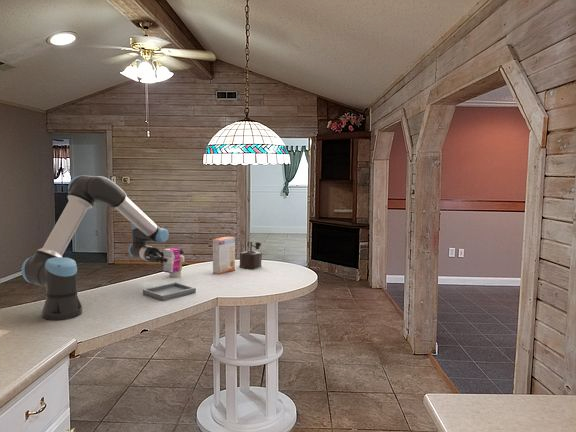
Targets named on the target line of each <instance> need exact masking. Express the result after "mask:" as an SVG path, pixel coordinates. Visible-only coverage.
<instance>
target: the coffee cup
mask: <svg viewBox="0 0 576 432" xmlns="http://www.w3.org/2000/svg"><path fill="white" fill-rule="evenodd" d="M179 249H180V256H184V254H185V253H184V250H183V249H181V248H179ZM182 270H183V262H180V269H179V272H174V273H169V277H171V278H179V277H181V275H182Z"/></svg>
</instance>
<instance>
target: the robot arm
mask: <svg viewBox="0 0 576 432" xmlns="http://www.w3.org/2000/svg"><path fill="white" fill-rule="evenodd" d="M67 193H68V195H67V200H68V202H67V203H66V205H65V207H64V209H63V211H62V213H61V214H60V216H59V217H58V220H57V221H56V223H55V225H54V226H53V228H52V230H51V232H50V234H49V235H48V237H47V239H46V241H45V242H44V245H43V246H42V247H41V248H38V249H37V250H36V251H35V253H34V254H33V255H32V256H29V257H28V258H26V259H25V260H24V262H23V263H22V265H21V275H22V277H23V279H24V280H25V281H26V282H27V283H30V284H31V285H33V286H40V287H44V288H45V291H46V292H45V293H46V298H45V301H44V304H43V307H42V310H41V317H42V318H43V319H44V320H49V321H57V320H58V321H59V320H60V321H61V320H62V321H63V320H68V319H69V320H70V319H72V318H76V317H79V316H80V315H82V314H83V306H82V303H81V301H80V298H79V296H78V266H77V262H76V260H75V259H72V258H70V257H63V255H64V253H65V252H66V250H67V248H68V246H69V244H70V242H71V240H72V238H74V237H73V236H74V235H75V233H76V231H77V229H78V227H79V226H80V223H81V222H82V219H83V218H84V217H85V215H86V213H87V211H88V210H90V209H92V208H93V207H94V205H95V203H96V202H97V203H98V202H99V203H103V204H105V205H107V206H108V207H109V208H111V209H115V210H116V211H117V212H119V214H121V215H122V216H123V217H124V218H125V219H126V220H128V221H129V223H131V224H132V225H131V241H132V242H131V244H130V245H129V247H128V249H127V251H128V255H130V256H131V257H133V258H135V259H139V260H144V261H146V262H152V263H154V262H155V263H160V265H161V264H163V263H164V262H165V263H169V264H173V258H169V257H164V251H160V249H159V248H158V247H155V246H151V245H147V243H148V242H151V243H158V244H163V243H166V242H167V241H168V239H169V235H170V234H169V231H168V229H167V228H164V227H160V226H159V225H157V224H156V223H155V222H154V221H153V220H152V219H151V218H150V217H149V216H148V215H147V214H146V213H144V211H142V209H140V207H138V206H137V205H136V204H135V203H134V202H133V201H132V200H131V199H130V198H129V197H127V192H126V191H124V190H123V189H122V188H121V187H120V186H119V184H118V185H117V184H116V183H115V182H114V181H113V180H111V179H109V178H108V177H105V176H103V175H102V176H100V175H98V176H97V175H85V174H84V175H83V174H82V175H78V176H75V177H73V178H72V179H71V180H70V181H69V183H68V186H67ZM185 258H186V257H185V256H184V255H183V256H180V262H182V263H184V262H185Z"/></svg>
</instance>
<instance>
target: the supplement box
mask: <svg viewBox="0 0 576 432" xmlns="http://www.w3.org/2000/svg"><path fill="white" fill-rule="evenodd" d="M180 249H181V248H176V247H169V248H164V249H163V252H164V257H169V258H173V264H169V263H165V262H163V263H162V264H163V269H162V270H163V271H162V272H163V273H166V274H167V273H174V272H179V269H180Z"/></svg>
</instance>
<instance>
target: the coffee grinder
mask: <svg viewBox="0 0 576 432" xmlns="http://www.w3.org/2000/svg"><path fill="white" fill-rule="evenodd" d="M249 243H250V244H249V245H250V248H249V249H247V250H245V251H243V252H239V268H241V269H246V270H247V269H248V270H256V269H259V268H258V267H260V268H261V267H262V257H263V256H262V254H263V253H262V252H259V251H256V250H260V247H261V246H262V242H261V241H259V240H258V241H255V243H254V244H253V241H250V242H249ZM253 248H254V249H255V250H254V249H253ZM255 268H256V269H255Z"/></svg>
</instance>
